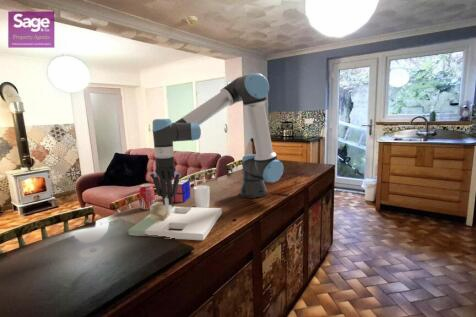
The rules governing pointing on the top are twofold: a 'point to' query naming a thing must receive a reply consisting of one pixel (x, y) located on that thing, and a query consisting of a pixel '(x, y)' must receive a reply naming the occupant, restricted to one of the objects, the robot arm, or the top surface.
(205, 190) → the white cup
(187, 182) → the puzzle cube
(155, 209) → the maple block
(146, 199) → the soda can
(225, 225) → the top surface
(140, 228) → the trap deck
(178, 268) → the top surface
